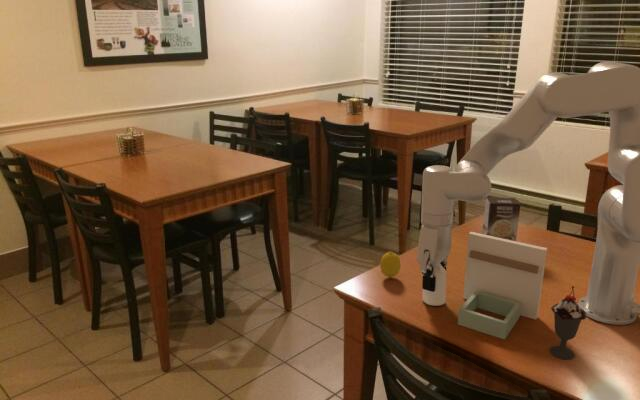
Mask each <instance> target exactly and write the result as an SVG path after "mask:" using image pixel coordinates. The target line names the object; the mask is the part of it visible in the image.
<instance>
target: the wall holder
mask: <svg viewBox="0 0 640 400" xmlns="http://www.w3.org/2000/svg"><path fill="white" fill-rule="evenodd" d="M467 238H468V239H467V250H466V251H467V252H466V262H465V263H466V264H465V272H464V273H465V274H464V285H463V287H464V288H463V296H462V298H463V299H464V300H465V302H464V303H463V304H462V305H461V306H460V307H459V308H458V314H457V325H458V326H462V327H465V328H467V329H471V330H474V331H477V332H480V333H483V334H487V335H489V336H492V337H495V338H498V339H502V340H506V338H507V337H508V335H509V334H510V333H511V331H512V330H513V328H514V326H515V325H516V324H517V322H518V321H519V319H520V316H522V317H525V318H529V319H533V320H536V321H537V319H538V317H539V310H540V304H541V297H542V291H543V290H542V288H543V284H544V283H543V282H544V274H545V267H546V261H547V259H546V258H547V253H548V247H544V246H543V247H542V246H539V245H535V244H530V243H525V242H521V241H517V240H516V241H512V240H507V239H503V238H498V237H493V236H489V235H484V234H482V233H478V232H475V231H470V232H469V233H468V237H467ZM476 309H481V310H482V311H486V312H491V313H493V314H497V315H500V316H503V317H505V318H504V319H503V320H502V319H501V318H500V319H499V318H496V317H493V316H489V315H486V314H482V313H480V312H477V311H476Z"/></svg>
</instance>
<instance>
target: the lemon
mask: <svg viewBox="0 0 640 400" xmlns="http://www.w3.org/2000/svg"><path fill="white" fill-rule="evenodd" d="M400 259H401V258H400V257H399V255H398V254H396V253H395V252H393V251H392V250H391V251H388V252H385V253H384V254H383V256H382V257H381V259H380V264H379V265H380V272H381V273H382V274H383V275H384V276H385V277H387V278H389V279H392V278H393V277H396V276H398V274H399V272H400V270H401V260H400Z"/></svg>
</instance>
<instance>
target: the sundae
mask: <svg viewBox="0 0 640 400" xmlns="http://www.w3.org/2000/svg"><path fill="white" fill-rule="evenodd" d="M574 288H575V286H574V285H573V286H571V292H570V294H569V295H566V296H565V298H563V299H561V300H560V301H559V302H558V303H555V304H553V305H552V306H551V308H550V310H551V311H552V313H553V316H554V317H553V319H554V325H553V326H554V332H555V334H556V336H557V337H558V338H559V339H560V343H559V345H553V346H550V348H549V353H550V354H551V356H553V357H555V358H557V359H560V360H565V361H567V360H572V359H574V358H575V356H576V354H575V353H574V351H573V350H572V349H570V348H569V347H567V343H568V341H570V340H573V339H574V338H575V337H576V336H577V332H578V330H579V327H580V324H581V321H582V320H586V318H587V316H586V312H585V311H584V310H583V309H581V308H580V306H579V305H578V303H577V301H576V300H577V297H575V290H574ZM572 293H573V295H572ZM571 295H572V296H571Z"/></svg>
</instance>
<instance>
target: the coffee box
mask: <svg viewBox="0 0 640 400" xmlns="http://www.w3.org/2000/svg"><path fill="white" fill-rule="evenodd" d="M520 211H521V202H520V201H519V200H518V199H516V197H502V196H501V197H500V196H499V197H498V196H488V197H487V198H485V205H484V215H483V221H482V222H483V225H482V231H481V234H484V235H489V236H493V237H498V238H503V239H507V240H512V241H516V242H517V236H518V235H517V234H518V227H519V219H520Z"/></svg>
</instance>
